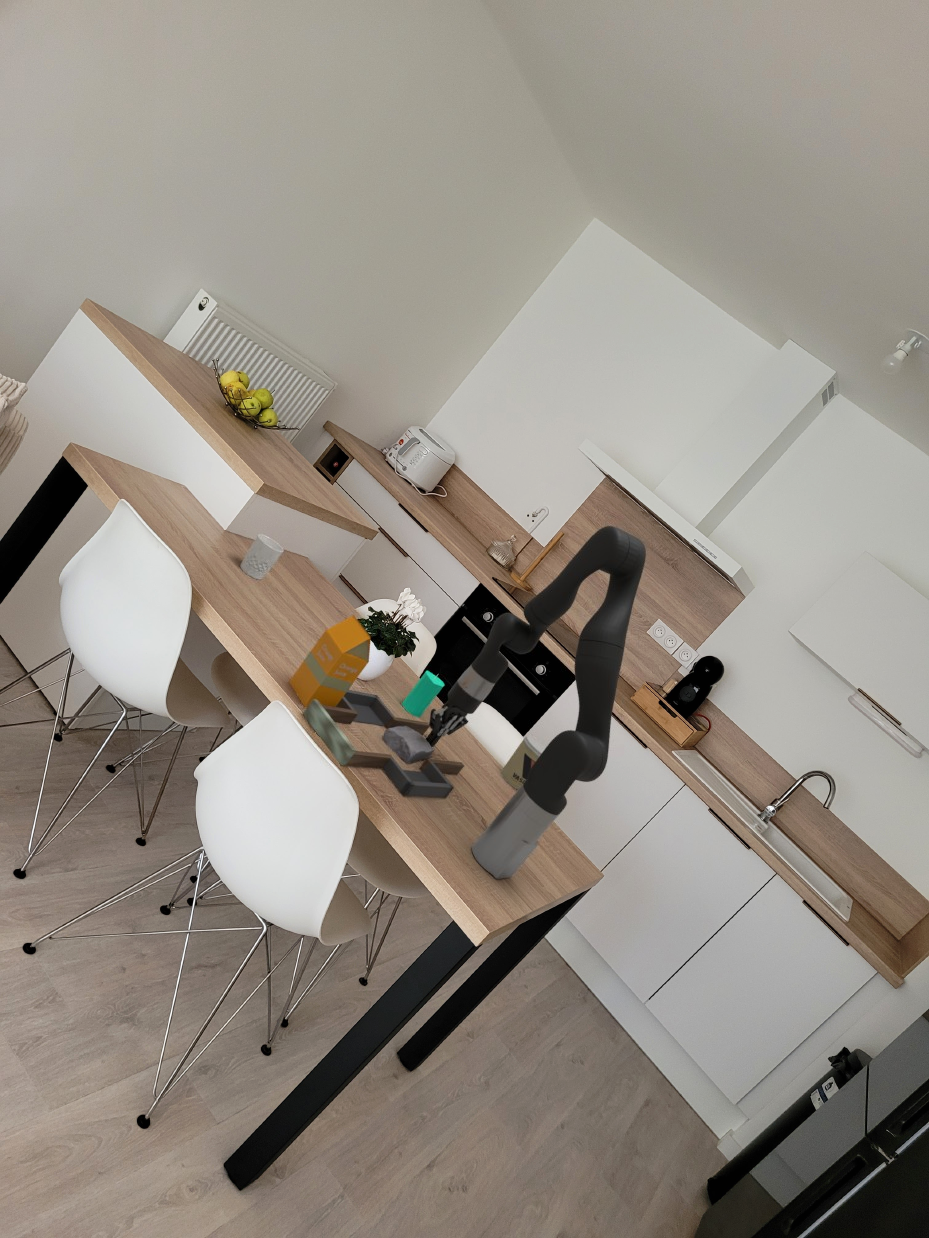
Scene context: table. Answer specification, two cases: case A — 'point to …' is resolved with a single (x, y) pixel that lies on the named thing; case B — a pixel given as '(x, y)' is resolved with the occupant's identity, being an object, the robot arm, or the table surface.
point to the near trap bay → (418, 780)
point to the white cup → (261, 557)
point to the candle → (422, 694)
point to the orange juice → (333, 664)
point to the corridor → (344, 751)
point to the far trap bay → (366, 708)
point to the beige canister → (522, 761)
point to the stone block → (407, 744)
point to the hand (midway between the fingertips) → (428, 744)
